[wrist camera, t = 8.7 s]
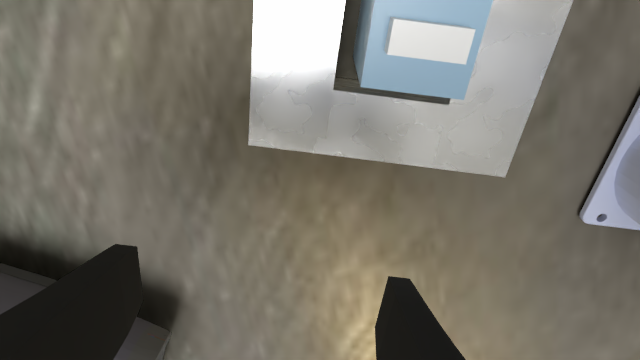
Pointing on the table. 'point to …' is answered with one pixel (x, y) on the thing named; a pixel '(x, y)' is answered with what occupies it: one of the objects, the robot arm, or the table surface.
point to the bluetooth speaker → (18, 285)
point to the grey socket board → (396, 107)
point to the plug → (419, 45)
